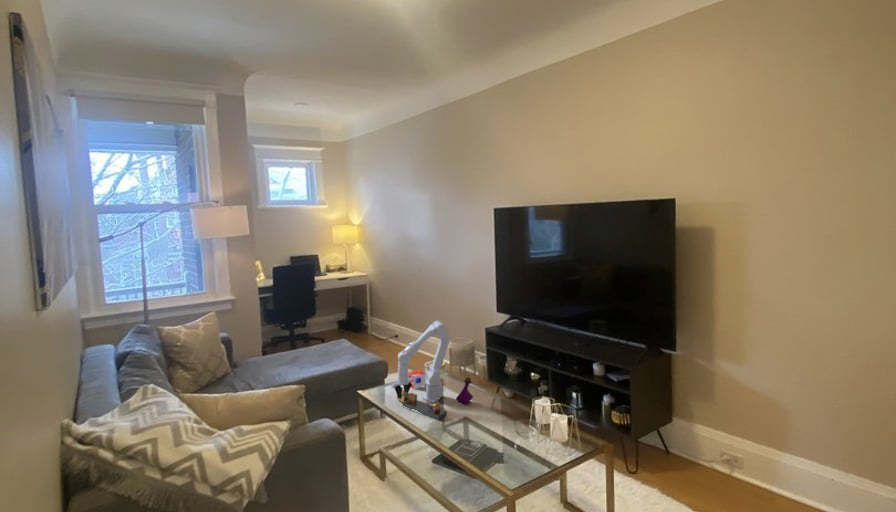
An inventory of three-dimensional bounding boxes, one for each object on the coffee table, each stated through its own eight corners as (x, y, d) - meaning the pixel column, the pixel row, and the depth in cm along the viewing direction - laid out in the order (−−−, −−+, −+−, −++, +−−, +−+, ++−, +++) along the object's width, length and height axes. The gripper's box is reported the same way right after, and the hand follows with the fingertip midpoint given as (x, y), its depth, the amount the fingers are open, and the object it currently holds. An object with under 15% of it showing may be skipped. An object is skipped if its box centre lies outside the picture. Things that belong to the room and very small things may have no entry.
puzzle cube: (418, 381, 288) (419, 369, 286) (425, 386, 281) (425, 374, 280) (407, 384, 283) (407, 371, 282) (413, 389, 277) (413, 376, 276)
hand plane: (410, 402, 260) (411, 390, 259) (446, 415, 246) (447, 403, 245) (402, 406, 254) (403, 394, 253) (438, 420, 240) (439, 407, 239)
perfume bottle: (473, 401, 263) (474, 371, 261) (467, 407, 257) (469, 375, 254) (460, 398, 266) (462, 368, 264) (455, 404, 260) (456, 373, 257)
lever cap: (402, 396, 264) (402, 390, 263) (409, 400, 260) (409, 394, 259) (396, 398, 261) (397, 392, 261) (403, 402, 257) (404, 396, 256)
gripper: (397, 379, 251) (396, 403, 253) (417, 372, 261) (417, 395, 263) (389, 375, 256) (388, 398, 258) (409, 368, 266) (408, 391, 268)
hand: (402, 396), depth 261 cm, fingers closed on lever cap, 4 cm apart
